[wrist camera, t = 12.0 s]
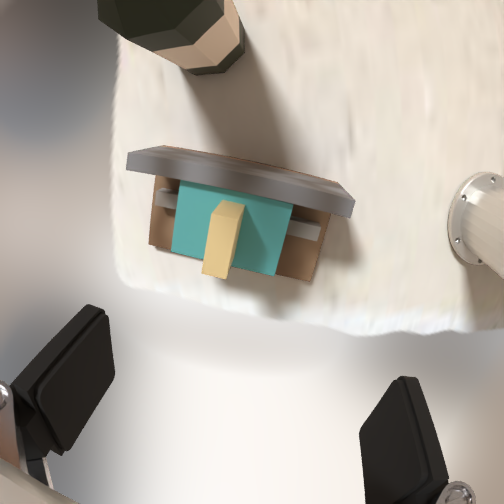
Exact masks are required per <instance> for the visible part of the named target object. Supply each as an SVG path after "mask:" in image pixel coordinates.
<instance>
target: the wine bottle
mask: <svg viewBox="0 0 504 504" xmlns="http://www.w3.org/2000/svg"><path fill="white" fill-rule="evenodd" d="M97 3H98V19H99V20H100V21H101V22H103V23H104V24H106V25H107V26H108V27H110V28H111V29H113V30H114V31H116V32H117V33H118V34H120V35H121V36H122V37H124V38H125V39H127V40H129V41H131V42H133V43H135V44H137V45H139V46H141V47H143V48H145V49H147V50H149V51H151V52H153V53H155V54H157V55H159V56H161V57H163V58H165V59H167V60H169V61H171V62H172V63H174V64H176V65H178V66H180V67H182V68H183V69H185V70H187V71H189V72H191V73H192V74H194V75H205V74H215V73H225V72H226V70H227V69H228V68H229V67H230V66H231V65H232V64H233V63H234V62H236V61H237V60H238V59H239V58H240V57H241V56H242V55H243V54H244V53H245V52H244V27H243V25H242V22H241V20H240V17H239V15H238V12H237V10H236V8H235V5H234V3H233V1H232V0H97Z"/></svg>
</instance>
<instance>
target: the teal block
mask: <svg viewBox="0 0 504 504" xmlns="http://www.w3.org/2000/svg"><path fill="white" fill-rule="evenodd" d="M293 205H294V204H292V203H287V202H283V201H279V200H275V199H270V198H266V197H262V196H257V195H253V194H248V193H244V192H239V191H234V190H230V189H225V188H220V187H215V186H210V185H205V184H200V183H195V182H190V181H185V180H181V181H180V187H179V194H178V201H177V208H176V215H175V222H174V230H173V238H172V247H171V252H175V253H179V254H183V255H187V256H191V257H195V258H199V259H203V260H204V261H203V267H202V274H206V275H210V276H214V277H218V278H222V279H226V278H227V275H228V272H229V270H230V267H231V266H233V267H237V268H241V269H245V270H249V271H254V272H258V273H262V274H267V275H271V276H274V275H275V272H276V268H277V264H278V261H279V257H280V253H281V250H282V246H283V242H284V239H285V235H286V231H287V227H288V224H289V220H290V216H291V212H292V208H293Z"/></svg>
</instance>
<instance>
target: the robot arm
mask: <svg viewBox="0 0 504 504" xmlns="http://www.w3.org/2000/svg"><path fill="white" fill-rule="evenodd" d="M448 233H449V239H450V242H451V245H452V247H453V249H454V250H455V252H456V253H457V254H458V255H459V256H460V258H462V259H463V260H464V261H465V262H467V263H469V264H472V265H485V264H487V265H488V266H489V267H490V268H491V269H492V270H494V271H495V272H496V273H497V274H498V275H499V276H500V277H501V278H503V279H504V177H502V176H500V175H498V174H495V173H492V172H482V173H478V174H476V175H474V176H472V177H471V178H469V179H468V180H467V181H466V182H465V183H464V184H463V185H462V186H461V187H460V189H459V190H458V192H457V193H456V195H455V197H454V200H453V202H452V205H451V208H450V212H449V219H448ZM114 368H115V367H114V360H113V353H112V344H111V336H110V325H109V317H108V316H107V315H105V311H104V310H103V309H101V308H98V307H95V306H93V305H90V304H88V305H86V306H84V307H83V308H82V309H81V311H80V312H78V314H76V315H75V316H74V317H73V318H72V319H71V320H70V321H69V322H68V323H67V325H66V326H64V328H63V329H62V330H61V331H60V332H59V333H58V334H57V335H56V336H55V337H54V338H53V339H52V340H51V341H50V342H49V343H48V344H47V345H46V346H45V347H44V348H43V349H42V350H41V352H39V353H38V355H37V356H36V357H35V358H34V359H33V360H32V361H31V362H30V363H29V364H28V366H27V367H26V368H25V369H24V370H23V371H22V372H21V373H20V374H19V376H18V377H17V378H16V379H15V380H14V381H13V382H12V383H11V385H10V386H9V385H8V384H6V383H5V382H4V381H1V380H0V504H79V503H77V502H75V501H73V500H71V499H69V498H68V497H66V496H64V495H62V494H60V493H58V492H57V491H55V490H54V488H53V484H52V481H51V477H50V472H49V468H48V464H47V460H46V456H47V454H48V452H49V451H50V450H52V451H53V452H55V453H57V454H59V455H60V456H62V455H63V453H64V451H69V450H70V449H71V448H72V446H73V444H74V443H75V441H76V439H77V438H78V436H79V434H80V433H81V431H82V429H83V428H84V426H85V425H86V423H87V421H88V419H89V418H90V416H91V415H92V413H93V411H94V410H95V408H96V407H97V405H98V404H99V402H100V400H101V399H102V397H103V396H104V394H105V392H106V391H107V389H108V388H109V386H110V385H111V383H112V381H113V379H114V376H115V369H114ZM359 439H360V447H361V457H362V466H363V477H364V489H365V502H366V504H476V497H475V494H474V491H473V490H472V489H471V487H470V486H469V485H467V484H466V483H464V482H461V481H454V482H451V483H448V479H449V476H448V472H447V468H446V465H445V461H444V457H443V454H442V450H441V447H440V443H439V440H438V437H437V433H436V430H435V427H434V424H433V421H432V418H431V415H430V412H429V409H428V406H427V403H426V400H425V397H424V395H423V392H422V389H421V386H420V383H419V381H418V379H417V378H416V377H407V376H400V377H399V378H398V379H397V380H394V381H393V382H392V383H391V385H390V386H389V388H388V389H387V391H386V392H385V394H384V395H383V397H382V398H381V400H380V401H379V403H378V404H377V406H376V407H375V408H374V410H373V411H372V413H371V414H370V416H369V417H368V418H367V420H366V421H365V422H364V424H363V425H362V427H361V429H360V432H359Z"/></svg>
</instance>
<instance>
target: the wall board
mask: <svg viewBox="0 0 504 504" xmlns="http://www.w3.org/2000/svg"><path fill="white" fill-rule="evenodd" d="M126 170H129V171H135V172H141V173H147V174H152V175H156V177H155V184H154V193H153V202H152V211H151V221H150V232H149V245H153V246H157V247H161V248H166V249H170V250H171V247H172V238H173V230H174V222H175V215H176V208H177V201H178V194H179V187H180V181H181V180H185V181H190V182H195V183H200V184H205V185H210V186H215V187H220V188H225V189H230V190H234V191H239V192H244V193H248V194H253V195H257V196H262V197H266V198H270V199H275V200H279V201H283V202H287V203H292V204H294V205H293V208H292V212H291V216H290V220H289V224H288V227H287V231H286V235H285V239H284V242H283V246H282V250H281V253H280V257H279V261H278V264H277V268H276V272H275V274H277V275H282V276H286V277H291V278H295V279H300V280H304V281H309V282H310V280H311V277H312V274H313V271H314V268H315V265H316V262H317V259H318V255H319V252H320V249H321V246H322V242H323V239H324V236H325V232H326V229H327V226H328V222H329V219H330V216H331V213H332V214H335V215H339V216H343V217H347V218H350V217H351V214H352V211H353V207H354V204H355V200H354V199H353V198H352V196H351V195H350V194H349V193H348V192H347V191H346V190H345V189H344V188H343V187H342V186H341V185H340V184H339V183H338V182H335V181H331V180H327V179H323V178H320V177H316V176H312V175H308V174H304V173H300V172H296V171H292V170H288V169H284V168H279V167H275V166H271V165H266V164H262V163H257V162H252V161H248V160H243V159H238V158H233V157H228V156H223V155H218V154H212V153H207V152H201V151H196V150H190V149H184V148H178V147H171V146H165V145H163V146H158V147H152V148H147V149H142V150H138V151H133V152H128V157H127V165H126Z"/></svg>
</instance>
